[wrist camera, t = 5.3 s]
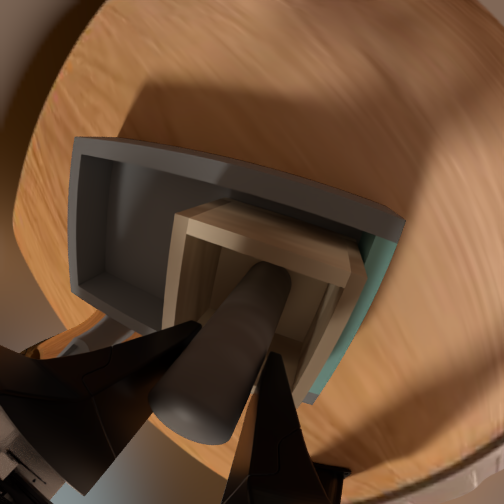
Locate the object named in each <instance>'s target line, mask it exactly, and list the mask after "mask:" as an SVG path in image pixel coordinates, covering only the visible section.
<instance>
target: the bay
mask: <svg viewBox="0 0 504 504" xmlns="http://www.w3.org/2000/svg"><path fill="white" fill-rule="evenodd" d="M225 197H226V198H230V199H233V200H236V201H240V202H243V203H246V204H250V205H253V206H256V207H260V208H263V209H266V210H269V211H273V212H276V213H279V214H282V215H285V216H288V217H292V218H295V219H298V220H301V221H304V222H307V223H310V224H313V225H316V226H319V227H322V228H325V229H328V230H331V231H334V232H336V233H339V234H342V235H345V236H348V237H351V238H354V239H356V242H357V245H358V248H359V251H360V254H361V257H362V261H363V264H364V267H365V271H366V274H367V277H368V279H367V281H366V283H365V285H364V288H363V290H362V292H361V294H360V296H359V299H358V301H357V303H356V305H355V307H354V309H353V311H352V313H351V315H350V318H349V320H348V322H347V324H346V326H345V328H344V329H343V331H342V333H341V335H340V337H339V339H338V341H337V343H336V345H335V347H334V348H333V350H332V352H331V354H330V356H329V358H328V359H327V361H326V363H325V365H324V366H323V368H322V370H321V372H320V373H319V375H318V377H317V378H316V380H315V382H314V383H313V385H312V387H311V388H310V390H309V392H308V393H307V395H306V396H305V398H304V399H303V401H302V402H304V403H307V404H311V405H313V403H314V402H315V400H316V399H317V397H318V396H319V394H320V393H321V391H322V390H323V388H324V387H325V385H326V383H327V382H328V380H329V379H330V377H331V376H332V374H333V372H334V371H335V369H336V367H337V366H338V364H339V362H340V361H341V359H342V357H343V356H344V354H345V352H346V350H347V349H348V347H349V345H350V343H351V342H352V340H353V338H354V336H355V334H356V332H357V331H358V329H359V327H360V325H361V323H362V321H363V319H364V317H365V315H366V313H367V311H368V309H369V307H370V305H371V303H372V301H373V299H374V297H375V295H376V293H377V290H378V288H379V286H380V284H381V282H382V280H383V277H384V275H385V273H386V270H387V268H388V266H389V263H390V261H391V259H392V256H393V254H394V251H395V249H396V246H397V244H398V241H399V238H400V236H401V233H402V230H403V228H404V225H405V222H406V220H404V219H403V218H402V217H400V216H399V215H398V214H396V213H395V212H393V211H392V210H391V209H389V208H388V207H386V206H384V205H381V204H379V203H376V202H373V201H371V200H368V199H365V198H363V197H360V196H357V195H354V194H351V193H349V192H346V191H343V190H340V189H337V188H334V187H331V186H328V185H325V184H322V183H319V182H315V181H312V180H309V179H306V178H303V177H299V176H296V175H293V174H289V173H286V172H282V171H279V170H275V169H271V168H268V167H264V166H260V165H256V164H253V163H249V162H245V161H241V160H236V159H232V158H228V157H224V156H219V155H215V154H210V153H206V152H201V151H196V150H191V149H186V148H181V147H175V146H170V145H164V144H158V143H152V142H146V141H140V140H133V139H125V138H118V137H75V138H74V144H73V152H72V160H71V169H70V180H69V195H68V258H69V273H70V284H71V292H72V293H74V294H75V295H76V296H78V297H79V298H81V299H82V300H84V301H85V302H87V303H88V304H90V305H92V306H93V307H95V308H96V309H98V310H99V311H101V312H103V313H104V314H106V315H107V316H109V317H111V318H112V319H114V320H116V321H117V322H119V323H121V324H123V325H124V326H126V327H128V328H130V329H131V330H133V331H135V332H137V333H138V334H140V335H142V336H144V335H148V334H151V333H154V332H157V331H160V330H162V319H163V306H164V295H165V285H166V275H167V267H168V258H169V251H170V243H171V236H172V229H173V222H174V216H175V213H178V212H181V211H184V210H187V209H190V208H193V207H196V206H199V205H202V204H205V203H209V202H212V201H215V200H218V199H222V198H225Z"/></svg>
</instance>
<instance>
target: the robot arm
mask: <svg viewBox="0 0 504 504" xmlns="http://www.w3.org/2000/svg"><path fill="white" fill-rule="evenodd" d="M201 329H202V325H201V324H200V323H198V322H196V321H193V320H190V321H187V322H184V323H181V324H178V325H175V326H172V327H169V328H166V329H163V330H160V331H157V332H154V333H151V334H148V335H144V336H141V337H138V338H135V339H132V340H129V341H125V342H122V343H119V344H115V345H113V347H112V346H109V347H105V348H102V349H98V350H94V351H90V352H85V353H80V354H75V355H69V356H63V357H56V358H50V359H33V358H29V357H27V356H24V355H22V354H19V353H17V352H15V351H12V350H10V349H8V348H5V347H3V346H1V345H0V504H53V503H52V502H51V501H50V499H51V498H52V497H53V496H54V495H55V493H56V492H57V491H58V490H59V489H60V488H61V487H62V485H63V484H64V483H65V482H66V483H67V484H69V485H70V486H71V487H73V488H74V489H75V490H76V491H78V492H79V493H80V494H81V495H83V496H85V495H86V494H87V493H88V492H89V491H90V489H91V488H92V487H93V486H94V485H95V483H96V482H97V481H98V480H99V479H100V477H101V476H102V475H103V474H104V473H105V471H106V470H107V469H108V468H109V466H110V465H111V464H112V463H113V462H114V460H115V458H117V456H118V455H119V454H120V453H121V451H122V450H123V449H124V448H125V447H126V445H127V444H128V443H129V442H130V440H131V439H132V438H133V437H134V435H135V434H136V433H137V432H138V430H139V429H140V428H141V427H142V425H143V424H144V423H145V422H146V420H147V419H148V418H149V416H150V415H151V414H152V413H153V411H152V409H151V407H150V405H149V402H148V394H149V392H150V390H151V389H152V388H153V387H154V386H155V384H156V383H157V382H158V381H159V380H160V378H161V377H162V376H163V375H164V374H165V372H166V371H167V370H168V369H169V367H170V366H171V365H172V364H173V363H174V361H175V360H176V359H177V358H178V357H179V355H180V354H181V353H182V352H183V351H184V349H185V348H186V347H187V346H188V344H189V343H190V342H191V341H192V340H193V338H194V337H195V336H196V335H197V334H198V332H199V331H200V330H201ZM300 427H301V426H300V422H299V419H298V415H297V411H296V407H295V403H294V400H293V396H292V392H291V388H290V384H289V381H288V377H287V373H286V369H285V365H284V362H283V358H282V355H281V354H279V353H276V352H273V351H270V352H269V355H268V357H267V360H266V362H265V365H264V367H263V370H262V372H261V375H260V377H259V380H258V382H257V385H256V387H255V390H254V392H253V395H252V397H251V400H250V402H249V405H248V408H247V412H246V415H245V419H244V423H243V427H242V431H241V434H240V438H239V442H238V445H237V449H236V453H235V456H234V460H233V463H232V467H231V470H230V474H229V477H228V481H227V484H226V488H225V491H224V494H223V498H222V501H221V504H340V502H341V495H342V488H343V480H344V479H345V478H346V477H347V476H349V475H350V474H351V470H349V469H343V468H336V467H331V466H325V465H320V464H315V463H312V461H311V458H310V456H309V453H308V451H307V447H306V444H305V441H304V437H303V434H302V430H301V428H300Z"/></svg>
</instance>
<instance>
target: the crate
mask: <svg viewBox="0 0 504 504" xmlns="http://www.w3.org/2000/svg"><path fill="white" fill-rule="evenodd" d="M367 279H368V277H367V274H366V271H365V267H364V264H363V261H362V257H361V254H360V251H359V248H358V245H357V242H356V239H354V238H351V237H348V236H345V235H342V234H339V233H336V232H334V231H331V230H328V229H325V228H322V227H319V226H316V225H313V224H310V223H307V222H304V221H301V220H298V219H295V218H292V217H288V216H285V215H282V214H279V213H276V212H273V211H269V210H266V209H263V208H260V207H256V206H253V205H250V204H246V203H243V202H240V201H236V200H233V199H230V198H226V197H225V198H222V199H218V200H215V201H212V202H209V203H205V204H202V205H199V206H196V207H193V208H190V209H187V210H184V211H181V212H178V213H175V216H174V222H173V229H172V236H171V243H170V251H169V258H168V267H167V275H166V285H165V295H164V306H163V319H162V330H163V329H166V328H169V327H172V326H175V325H178V324H181V323H184V322H187V321H190V320H193V321H196V322H198V323H200V324H201V325H202V329H201V330H200V331H199V332H198V334H197V335H196V336H195V337H194V338H193V340H192V341H191V342H190V343H189V344H188V346H187V347H186V348H185V349H184V351H183V352H182V353H181V354H180V355H179V357H178V358H177V359H176V360H175V361H174V363H173V364H172V365H171V366H170V367H169V369H168V370H167V371H166V372H165V374H164V375H163V376H162V377H161V378H160V380H159V381H158V382H157V383H156V384H155V386H154V387H153V388H152V389H151V390H150V392H149V394H148V402H149V405H150V407H151V409H152V411H153V413H154V414H155V415H156V416H157V418H158V419H159V420H160V421H161V422H162V423H163V424H164V425H166V426H167V427H168V428H169V429H171V430H172V431H174V432H175V433H177V434H179V435H180V436H182V437H184V438H187V439H189V440H191V441H194V442H197V443H201V444H207V445H220V444H224V443H226V442H227V441H229V440H230V438H231V436H232V434H233V432H234V429H235V427H236V425H237V423H238V420H239V418H240V416H241V414H242V411H243V409H244V407H245V404H246V402H247V400H248V397H249V395H250V393H251V394H253V392H254V390H255V387H256V385H257V382H258V380H259V377H260V375H261V372H262V370H263V367H264V365H265V362H266V360H267V357H268V355H269V352H270V351H273V352H276V353H279V354H281V355H282V358H283V362H284V365H285V369H286V373H287V377H288V381H289V384H290V388H291V392H292V396H293V400H294V403H295V407H296V408H297V409H298V407H299V406H300V404H301V403H302V401H303V399H304V398H305V396H306V395H307V393H308V392H309V390H310V388H311V387H312V385H313V383H314V382H315V380H316V378H317V377H318V375H319V373H320V372H321V370H322V368H323V366H324V365H325V363H326V361H327V359H328V358H329V356H330V354H331V352H332V350H333V348H334V347H335V345H336V343H337V341H338V339H339V337H340V335H341V333H342V331H343V329H344V328H345V326H346V324H347V322H348V320H349V318H350V315H351V313H352V311H353V309H354V307H355V305H356V303H357V301H358V299H359V296H360V294H361V292H362V290H363V288H364V285H365V283H366V281H367Z"/></svg>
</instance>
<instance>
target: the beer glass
mask: <svg viewBox="0 0 504 504" xmlns="http://www.w3.org/2000/svg"><path fill="white" fill-rule="evenodd" d="M141 336H142V335H140V334H138V333H137V332H135V331H133V330H131V329H130V328H128V327H126V326H124V325H123V324H121V323H119V322H117V321H116V320H114V319H112V318H111V317H109V316H107V315H106V314H104V313H103V312H101V311H99V310H98V309H97V310H96V311H95V312H94V313H93V314H92V315H91V316H90V317H89V318H88V319H87V320H85V321H84V322H82V323H81V324H79V325H77V326H76V327H73V328H71V329H69V330H67V331H65V332H62V333H60V334H57V335H55V336H52V337H50V338H48V339H45V340H43V341H41V342H39V343H36V344H34V345H33V346H30V347H28V348H26V349H25V350H23V351H21V352H20V353H19V354H22V355H24V356H27V357H29V358H33V359H50V358H56V357H63V356H69V355H75V354H80V353H85V352H90V351H94V350H98V349H102V348H105V347H109V346H112V347H113V345H115V344H119V343H122V342H125V341H129V340H132V339H135V338H138V337H141Z"/></svg>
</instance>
